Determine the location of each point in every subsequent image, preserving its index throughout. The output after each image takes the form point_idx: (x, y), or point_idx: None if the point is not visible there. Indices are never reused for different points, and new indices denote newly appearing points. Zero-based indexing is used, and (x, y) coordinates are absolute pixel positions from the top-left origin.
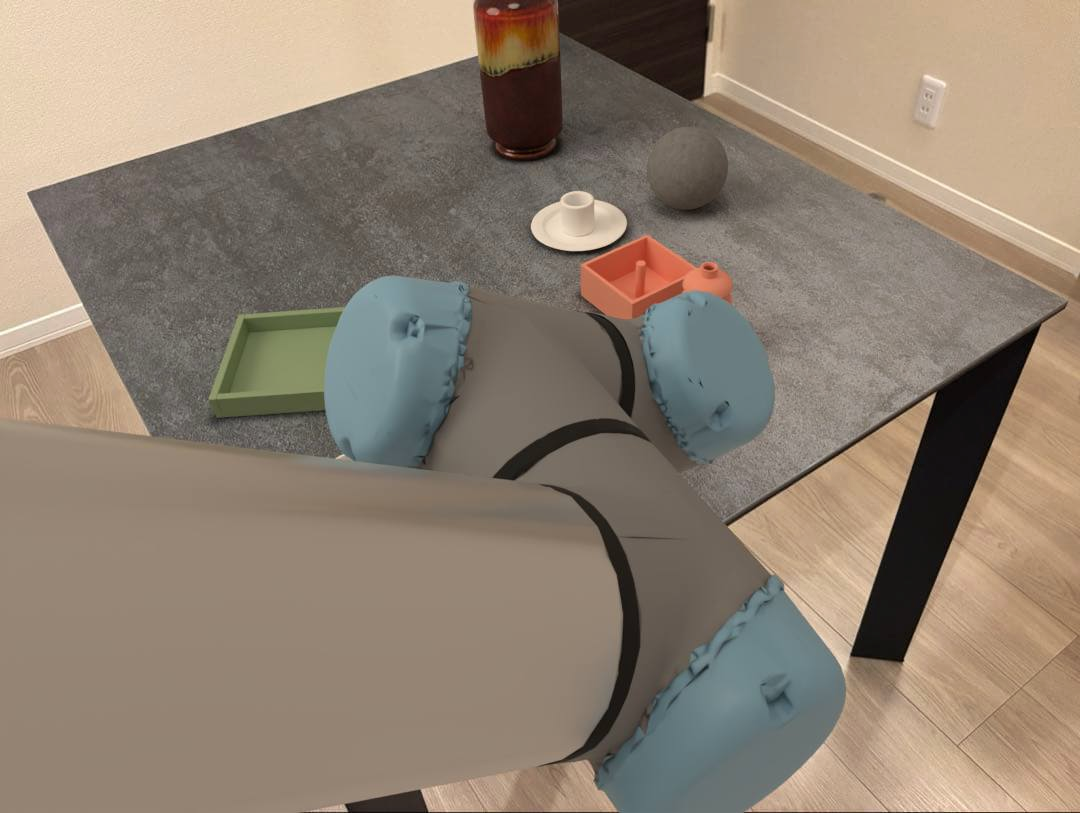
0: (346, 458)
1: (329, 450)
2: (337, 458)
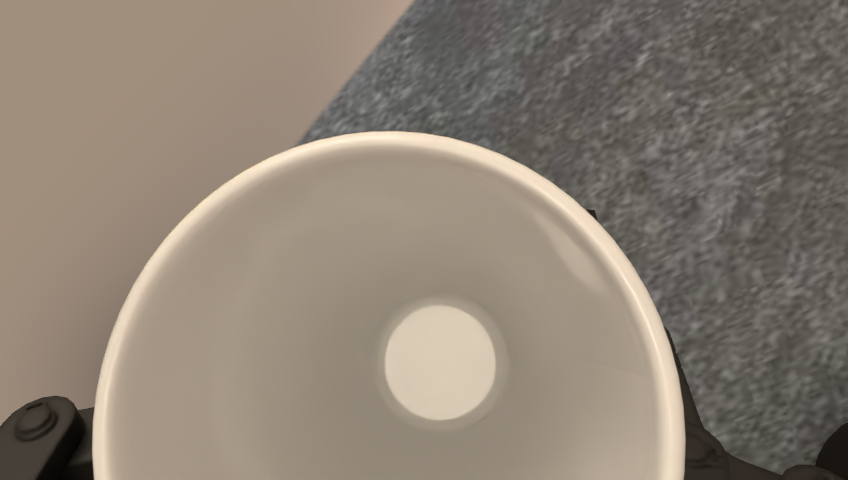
0: (558, 224)
1: (788, 13)
2: (524, 184)
